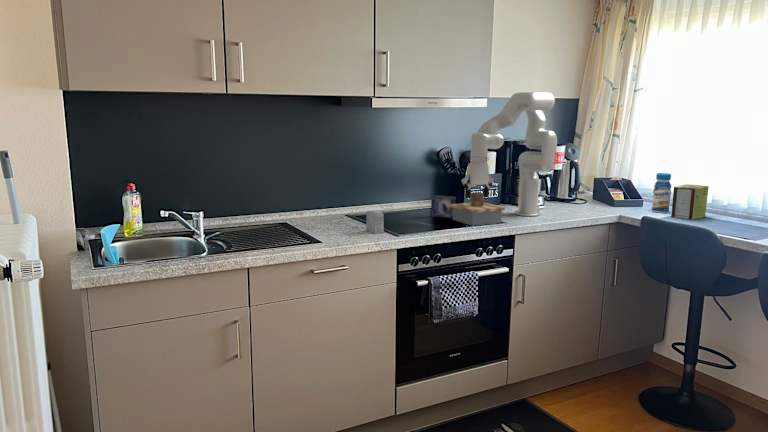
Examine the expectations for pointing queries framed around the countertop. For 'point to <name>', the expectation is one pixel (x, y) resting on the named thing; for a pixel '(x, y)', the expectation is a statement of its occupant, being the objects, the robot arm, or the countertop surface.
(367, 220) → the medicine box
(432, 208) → the small box
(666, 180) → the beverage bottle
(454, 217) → the slate bin
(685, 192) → the protein box
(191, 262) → the countertop surface
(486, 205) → the oak lid
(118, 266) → the countertop surface
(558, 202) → the countertop surface
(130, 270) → the countertop surface
